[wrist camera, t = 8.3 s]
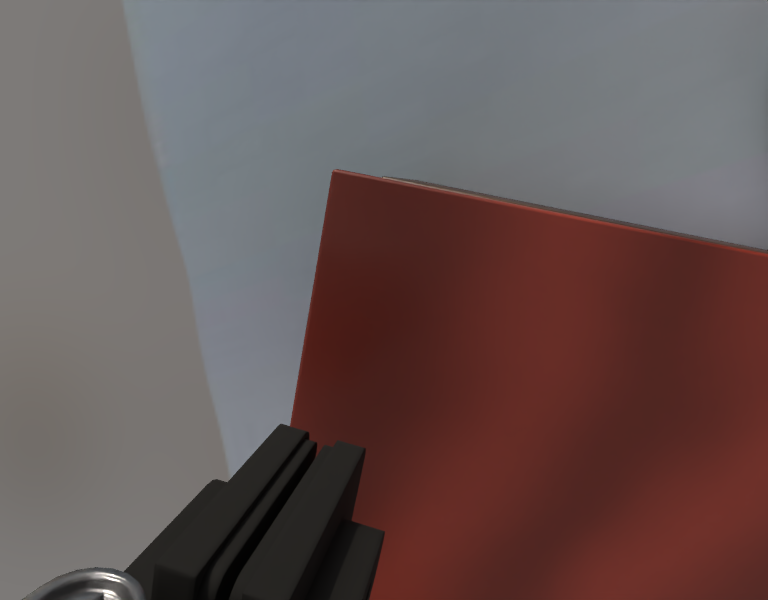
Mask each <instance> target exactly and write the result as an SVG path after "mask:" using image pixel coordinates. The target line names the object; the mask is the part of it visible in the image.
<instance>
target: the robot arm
mask: <svg viewBox="0 0 768 600" xmlns="http://www.w3.org/2000/svg"><path fill="white" fill-rule="evenodd" d="M309 438H310V437H309V432H308V431H304V430H301V429H297V428H294V427H290V426H287V425H283V424H280V425H279V426H278V427H277V428H276V429H275V430H274V431H273V432H272V433H271V435H270V436H269V437H268V438H267V439H266V440H265V441H264V442H263V443H262V445H261V446H260V447H259V448H258V449H257V450H256V451H255V452H254V453H253V455H252V456H251V457H250V458H249V459H248V460H247V461H246V462H245V463H244V465H243V466H242V467H241V468H240V469H239V470H238V471H237V472H236V474H235V475H234V476H233V477H232V478H231V479H230V480H229V481H228V482H224V481H221V480H217V479H216V480H212V481H211V482H210V483H209V484H207V485H206V486H205V488H204V489H203V490H202V491H201V492H200V493H199V494H198V495H197V496H196V497H195V498H194V499H193V500H192V501H191V502H190V503H189V504H188V505H187V506H186V507H185V508H184V509H183V511H182V512H181V513H180V514H179V515H178V516H177V517H176V518H175V519H174V520H173V521H172V522H171V523H170V524H169V525H168V526H167V527H166V528H165V529H164V530H163V531H162V532H161V533H160V535H159V536H158V537H157V538H156V539H155V540H154V541H153V542H152V543H151V544H150V545H149V546H148V547H147V548H146V549H145V550H144V551H143V552H142V553H141V554H140V555H139V557H138V558H137V559H136V560H135V561H134V562H133V563H132V564H131V565H130V566H129V567H128V568H127V569H126V570H125V571H124V572H122V571H119V570H116V569H111V568H98V567H95V568H87V569H80V570H76V571H72V572H69V573H66V574H64V575H60V576H58V577H56V578H54V579H52V580H51V581H49V582H47V583H45V584H44V585H42V586H40V587H39V588H37V589H36V590H34V591H33V592H32V593H30V594H29V595H27V596H26V597H25V598H23V599H22V600H369V598H370V594H371V591H372V587H373V583H374V579H375V575H376V571H377V567H378V562H379V558H380V554H381V549H382V545H383V540H384V535H385V531H382V530H379V529H376V528H373V527H370V526H366V525H363V524H360V523H357V522H353V521H352V516H353V511H354V507H355V502H356V497H357V493H358V488H359V483H360V478H361V474H362V469H363V464H364V459H365V454H366V448H363V447H360V446H356V445H353V444H349V443H346V442H342V441H339V440H337V442H336V443H335V445H334V446H333V447H331V446H328V445H324V446H323V447H322V449H321V450H320V452H319V453H318V455H317V456H316V452H317V442H314V441H311V440H309Z"/></svg>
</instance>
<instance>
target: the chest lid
mask: <svg viewBox="0 0 768 600" xmlns="http://www.w3.org/2000/svg"><path fill="white" fill-rule="evenodd" d="M290 427H294V428H297V429H301V430H304V431H308V432H309V437H310V438H309V440H311V441H314V442H317V452H316V456H317V455H318V453H319V452H320V450H321V449H322V447H323V446H324V445H328V446H331V447H333V446H334V445H335V443H336V442H337V440H339V441H342V442H346V443H349V444H353V445H356V446H360V447H363V448H366V454H365V459H364V464H363V469H362V474H361V478H360V483H359V488H358V493H357V497H356V502H355V507H354V511H353V516H352V521H353V522H357V523H360V524H363V525H366V526H370V527H373V528H376V529H379V530H382V531H385V535H384V540H383V545H382V549H381V554H380V558H379V562H378V567H377V571H376V575H375V579H374V583H373V587H372V591H371V594H370V598H369V600H768V254H766V253H761V252H756V251H751V250H746V249H741V248H736V247H731V246H726V245H720V244H715V243H710V242H705V241H700V240H695V239H690V238H685V237H680V236H675V235H670V234H665V233H659V232H654V231H649V230H644V229H639V228H634V227H629V226H624V225H619V224H614V223H609V222H604V221H598V220H593V219H588V218H583V217H578V216H573V215H568V214H563V213H558V212H553V211H548V210H543V209H538V208H532V207H527V206H522V205H517V204H512V203H507V202H502V201H497V200H492V199H487V198H482V197H477V196H471V195H466V194H461V193H456V192H451V191H446V190H441V189H436V188H431V187H426V186H421V185H416V184H410V183H405V182H400V181H395V180H390V179H385V178H380V177H375V176H370V175H365V174H360V173H355V172H349V171H344V170H339V169H336V170H333V172H332V176H331V182H330V188H329V194H328V200H327V206H326V212H325V218H324V224H323V230H322V236H321V242H320V248H319V254H318V260H317V266H316V272H315V279H314V285H313V291H312V297H311V303H310V309H309V315H308V321H307V327H306V333H305V339H304V345H303V351H302V357H301V363H300V369H299V375H298V381H297V387H296V393H295V399H294V405H293V411H292V417H291V423H290Z"/></svg>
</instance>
